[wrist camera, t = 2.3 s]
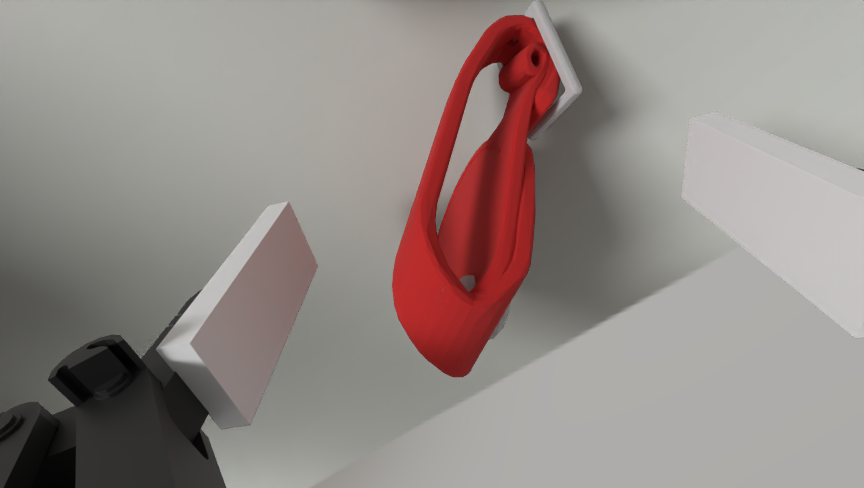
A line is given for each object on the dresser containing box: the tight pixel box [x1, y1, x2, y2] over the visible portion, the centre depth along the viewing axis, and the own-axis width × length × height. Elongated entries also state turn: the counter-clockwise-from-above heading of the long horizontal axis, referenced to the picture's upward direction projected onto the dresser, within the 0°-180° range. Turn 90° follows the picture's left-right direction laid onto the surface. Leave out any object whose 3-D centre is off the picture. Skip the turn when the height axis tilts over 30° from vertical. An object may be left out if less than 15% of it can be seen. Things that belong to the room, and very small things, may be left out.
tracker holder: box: [392, 0, 583, 377], centre depth 14 cm, size 12×4×10 cm, turn 160°
